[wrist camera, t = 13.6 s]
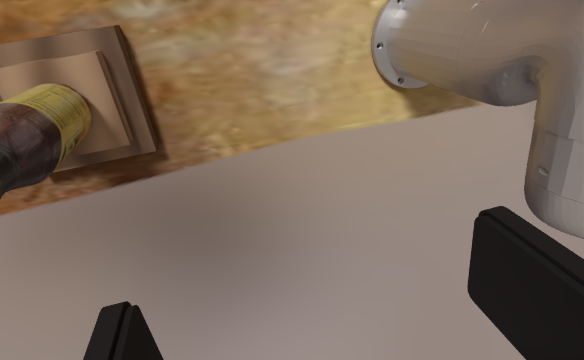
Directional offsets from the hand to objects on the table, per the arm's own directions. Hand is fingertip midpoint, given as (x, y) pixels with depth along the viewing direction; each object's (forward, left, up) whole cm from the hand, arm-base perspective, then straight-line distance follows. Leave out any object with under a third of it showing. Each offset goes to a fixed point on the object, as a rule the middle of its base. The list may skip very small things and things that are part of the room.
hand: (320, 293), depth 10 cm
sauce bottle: (+18, 0, -34) cm, 38 cm away
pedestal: (+18, 0, -38) cm, 42 cm away
